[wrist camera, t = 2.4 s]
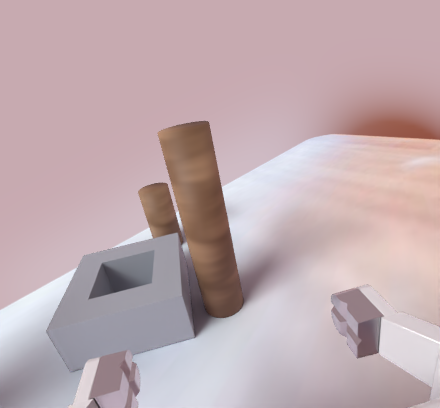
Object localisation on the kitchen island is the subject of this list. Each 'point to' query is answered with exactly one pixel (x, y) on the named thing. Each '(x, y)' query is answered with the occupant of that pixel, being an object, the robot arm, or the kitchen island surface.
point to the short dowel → (159, 210)
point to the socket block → (124, 302)
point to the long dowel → (203, 214)
